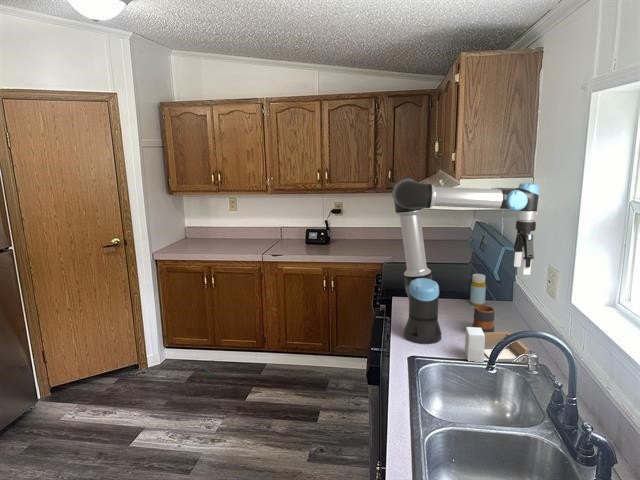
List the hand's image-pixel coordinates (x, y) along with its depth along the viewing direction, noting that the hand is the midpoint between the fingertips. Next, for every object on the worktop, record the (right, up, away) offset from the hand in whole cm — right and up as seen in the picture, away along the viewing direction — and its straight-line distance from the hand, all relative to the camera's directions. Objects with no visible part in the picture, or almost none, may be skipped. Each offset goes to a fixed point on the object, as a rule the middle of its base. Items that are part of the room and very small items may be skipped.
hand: (521, 270), depth 181 cm
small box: (-29, -31, -24) cm, 48 cm away
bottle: (-6, -20, +36) cm, 41 cm away
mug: (-17, -27, -2) cm, 32 cm away
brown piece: (-17, -30, -20) cm, 40 cm away
